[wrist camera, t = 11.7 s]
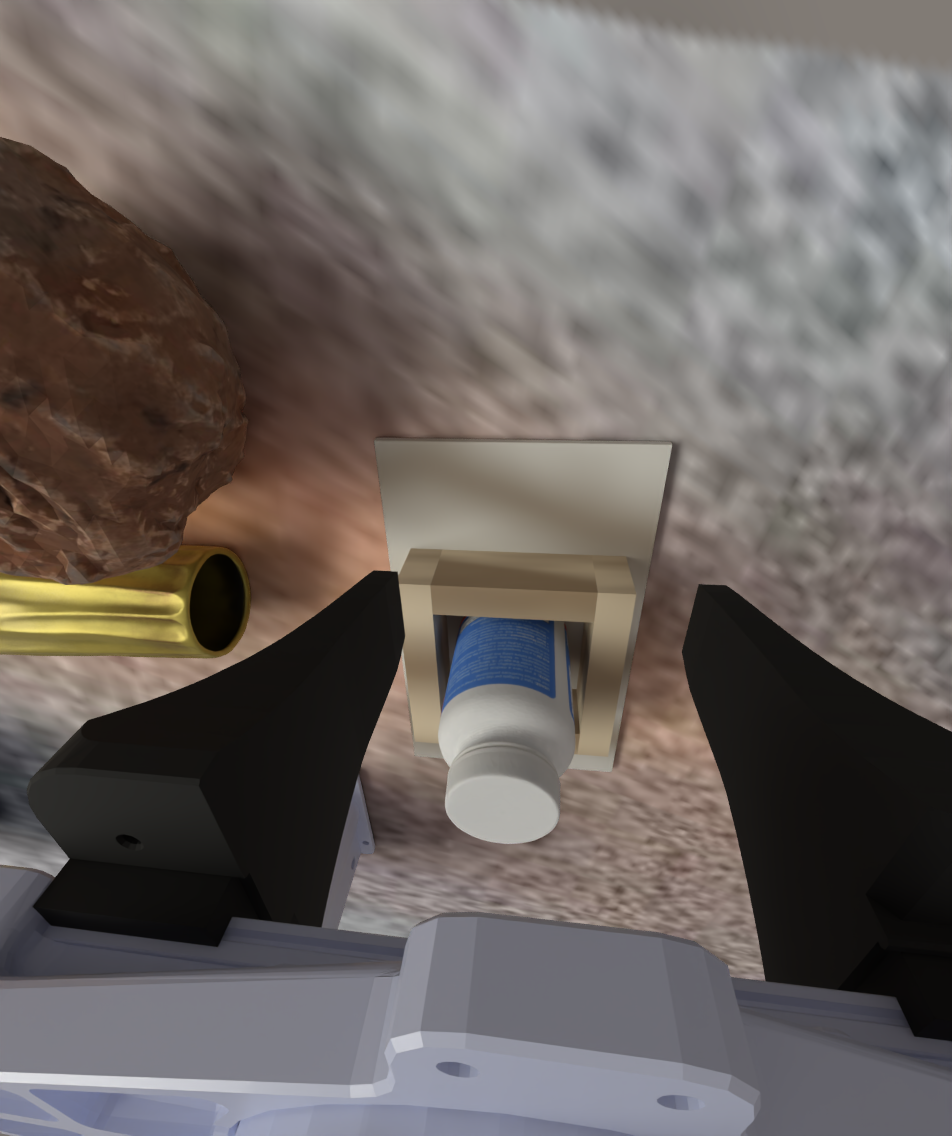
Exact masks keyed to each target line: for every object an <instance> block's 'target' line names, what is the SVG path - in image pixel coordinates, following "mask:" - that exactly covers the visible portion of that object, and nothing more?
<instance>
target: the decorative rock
mask: <svg viewBox="0 0 952 1136" xmlns="http://www.w3.org/2000/svg"><path fill="white" fill-rule="evenodd" d="M245 402H246V394H245V390H244V388H243V385H242V381H241V374H240V369H239V366H238V364H237V362H236V359H235V357H234V355H233V352H232V350H231V346H230V341H229V337H228V333H227V328H226V326H225V324H224V323H223V322H222V320H221V319H220V317H219V316H218V315H217V313H216V312H215V311H214V310H213V309H212V308H211V307H210V306H209V305H208V304H207V303H206V302H205V301H204V300H203V298H202V297H201V296H200V294H199V292H198V290H197V288H196V286H195V284H194V282H193V281H192V279H191V278H190V276H189V275H188V274H187V273H186V271H185V270H184V269H183V268H182V266H181V265H180V263H179V262H178V261H177V259H176V257H175V255H174V253H173V251H172V250H171V249H170V248H168V247H166V246H164V245H162V244H161V243H159V242H157V241H155V240H153V239H151V238H149V237H148V236H147V235H145V234H144V233H143V232H142V231H141V230H140V229H139V228H138V227H137V226H136V225H135V224H134V223H132V222H131V221H129V220H128V219H127V218H125V217H124V216H123V215H121V214H120V213H119V212H117V211H116V210H115V209H113V208H112V207H111V206H109V205H108V204H106V203H104V202H103V201H101V200H100V199H98V198H97V197H95V196H93V195H92V194H90V193H89V192H88V191H87V190H86V189H85V188H84V187H83V186H82V185H81V184H80V183H79V182H78V181H77V180H76V179H75V178H74V176H73V175H72V174H71V173H70V172H69V170H68V169H67V168H66V167H64V166H62V165H60V164H58V163H56V162H55V161H53V160H52V159H50V158H49V157H47V156H46V155H44V154H43V153H41V152H39V151H38V150H36V149H35V148H33V147H32V146H29V145H26V144H23V143H19V142H16V141H12V140H9V139H6V138H2V137H0V572H1V573H5V574H9V575H13V576H24V577H35V578H44V579H51V580H54V581H57V582H59V583H62V584H64V585H73V584H81V585H83V584H88V583H94V582H97V581H99V580H102V579H106V578H111V577H116V576H121V575H125V574H128V573H131V572H134V571H138V570H143V569H148V568H151V567H154V566H157V565H160V564H162V563H164V562H165V561H166V560H168V559H169V558H170V557H172V556H173V555H174V554H176V553H177V552H178V550H179V547H180V545H181V543H182V541H183V530H184V527H185V525H186V521H187V516H188V515H189V514H191V513H192V512H194V511H195V510H196V508H197V506H198V505H199V504H201V503H202V502H203V501H205V500H206V499H207V498H208V497H209V496H210V494H211V493H213V492H214V491H215V490H217V489H218V488H220V487H222V486H224V485H226V484H228V483H230V482H231V481H232V475H233V473H234V470H235V466H236V465H237V464H238V463H239V462H240V461H241V460H242V458H243V457H244V444H245V441H246V428H247V425H248V419H247V418H246V416H245V415H244V414H243V412H242V409H243V408H244V406H245Z"/></svg>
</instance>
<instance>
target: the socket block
mask: <svg viewBox="0 0 952 1136" xmlns="http://www.w3.org/2000/svg"><path fill="white" fill-rule="evenodd" d="M374 445H375V453H376V461H377V468H378V476H379V484H380V491H381V499H382V507H383V515H384V522H385V530H386V538H387V545H388V553H389V561H390V569H391V571H396V572H398V579H399V588H400V596H401V604H402V612H403V620H404V629H405V640H404V644H403V649H402V653H401V654H402V661H403V669H404V677H405V684H406V692H407V700H408V708H409V715H410V723H411V731H412V738H413V746H414V754H415V756H420V757H432V758H443V755H442V753H441V750H440V746H439V741H438V730H439V724H440V717H441V711H442V707H443V702H444V697H445V693H446V689H447V684H448V679H449V675H450V670H451V665H452V660H453V656H454V651H455V646H456V640H457V635H458V631H459V627H460V623H461V620H462V618H463V616H473V617H493V618H512V619H532V620H551V621H564V622H565V625H566V629H567V634H568V643H569V656H570V670H571V682H572V697H573V711H574V723H575V752H574V756H573V759H572V761H571V763H570V765H569V767H568V768H567V769H579V770H591V771H603V772H612V767H613V762H614V757H615V751H616V746H617V740H618V735H619V730H620V724H621V719H622V713H623V708H624V703H625V697H626V692H627V687H628V681H629V676H630V670H631V665H632V660H633V654H634V649H635V643H636V638H637V633H638V627H639V622H640V616H641V611H642V606H643V600H644V595H645V590H646V584H647V579H648V573H649V568H650V563H651V557H652V552H653V546H654V541H655V536H656V530H657V525H658V519H659V514H660V509H661V503H662V498H663V492H664V487H665V482H666V476H667V471H668V466H669V460H670V455H671V449H672V444H671V442H663V441H588V440H514V439H440V438H376V439H375V440H374Z"/></svg>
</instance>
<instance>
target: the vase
mask: <svg viewBox="0 0 952 1136" xmlns="http://www.w3.org/2000/svg"><path fill="white" fill-rule="evenodd" d="M250 604H251V592H250V585H249V580H248V576H247V573H246V570H245V568H244V565H243V563H242V562H241V560H240V559H239V557H238V556H237V555H236V554H235V553H234V552H233V551H231V550H229V549H227V548H224V547H215V546H199V545H180V547H179V550H178V552H177V553H176V554H174V555H173V556H172V557H170V558H169V559H168V560H166V561H165V562H164V563H162V564H160V565H157V566H154V567H151V568H148V569H143V570H138V571H134V572H131V573H128V574H125V575H121V576H116V577H111V578H106V579H102V580H99V581H97V582H94V583H88V584H83V585H81V584H73V585H64V584H62V583H59V582H57V581H54V580H51V579H44V578H35V577H24V576H13V575H9V574H5V573H1V572H0V654H7V655H33V656H109V655H111V656H130V657H166V658H217V657H220V656H223V655H226V654H228V653H229V652H231V651H232V650H233V648H234V647H235V646H236V645H237V643H238V642H239V640H240V639H241V637H242V636H243V634H244V632H245V629H246V626H247V623H248V619H249V614H250Z"/></svg>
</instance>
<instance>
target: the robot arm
mask: <svg viewBox="0 0 952 1136" xmlns="http://www.w3.org/2000/svg"><path fill="white" fill-rule="evenodd" d="M404 640H405V629H404V620H403V612H402V604H401V596H400V588H399V579H398V572H396V571H373V572H371V573H370V574H368V575H367V576H366V577H364V578H363V579H362V580H361V581H359V582H358V583H357V584H356V585H354V586H353V587H352V588H351V589H349V590H348V591H347V592H345V593H344V594H343V595H342V596H340V597H339V598H338V599H337V600H335V601H334V602H333V603H331V604H330V605H329V606H327V607H326V608H325V609H324V610H322V611H321V612H320V613H318V614H317V615H315V616H314V617H312V618H311V619H310V620H308V621H307V622H305V623H304V624H302V625H301V626H299V627H298V628H297V629H295V630H294V631H292V632H291V633H289V634H288V635H286V636H285V637H283V638H282V639H280V640H278V641H277V642H275V643H273V644H272V645H270V646H268V647H266V648H265V649H263V650H261V651H259V652H258V653H256V654H254V655H252V656H250V657H249V658H247V659H245V660H243V661H241V662H239V663H237V664H234V665H232V666H230V667H228V668H226V669H224V670H222V671H220V672H218V673H216V674H214V675H212V676H210V677H208V678H205V679H203V680H201V681H198V682H196V683H194V684H191V685H189V686H186V687H184V688H182V689H179V690H176V691H174V692H171V693H169V694H166V695H163V696H161V697H158V698H155V699H153V700H150V701H147V702H144V703H141V704H138V705H135V706H132V707H129V708H126V709H122V710H119V711H116V712H113V713H110V714H107V715H104V716H101V717H97V718H94V719H91V720H88V721H87V722H86V723H85V724H84V725H83V726H82V727H81V728H80V729H79V730H78V731H77V732H76V733H75V734H74V735H73V736H72V737H71V738H70V739H69V740H68V741H67V742H66V743H65V744H64V745H63V746H62V747H61V748H60V749H59V750H58V751H57V752H56V753H55V754H54V756H53V757H52V758H51V759H50V760H49V761H48V762H47V763H46V764H45V765H44V766H43V767H42V768H41V769H40V770H39V771H38V772H37V773H36V774H35V775H34V776H33V777H32V778H31V779H30V782H29V785H28V787H27V795H28V800H29V805H30V807H31V809H32V810H33V812H34V814H35V815H36V817H37V818H38V820H39V821H40V822H41V823H42V825H43V826H44V827H45V828H46V830H47V831H48V832H49V833H50V835H51V836H52V837H53V838H54V840H55V841H56V842H57V843H58V845H59V846H60V847H61V848H62V850H63V851H64V852H65V853H66V855H67V856H68V857H69V858H70V859H69V861H68V862H67V863H66V864H65V866H64V867H63V868H62V870H61V871H60V872H59V873H58V875H57V876H56V877H53V876H52V875H50V874H48V873H46V872H44V871H41V870H37V869H33V868H24V867H16V866H7V865H0V1133H3V1134H7V1135H12V1136H952V732H951V731H949V730H947V729H945V728H943V727H941V726H939V725H937V724H935V723H933V722H931V721H929V720H927V719H925V718H923V717H921V716H919V715H917V714H915V713H913V712H911V711H909V710H908V709H906V708H904V707H902V706H900V705H898V704H897V703H895V702H893V701H891V700H889V699H888V698H886V697H884V696H882V695H881V694H879V693H877V692H876V691H874V690H872V689H871V688H869V687H867V686H866V685H864V684H862V683H860V682H859V681H857V680H855V679H854V678H852V677H851V676H849V675H847V674H846V673H844V672H843V671H841V670H840V669H838V668H837V667H835V666H834V665H832V664H831V663H829V662H828V661H826V660H825V659H824V658H822V657H821V656H819V655H818V654H816V653H815V652H813V651H812V650H811V649H809V648H808V647H806V646H805V645H804V644H802V643H801V642H800V641H798V640H797V639H795V638H794V637H793V636H791V635H790V634H789V633H788V632H786V631H785V630H784V629H782V628H781V627H780V626H778V625H777V624H776V623H775V622H773V621H772V620H771V619H769V618H768V617H767V616H766V615H764V614H763V613H762V612H761V611H759V610H758V609H757V608H756V607H754V606H753V605H752V604H750V603H749V602H748V601H747V600H745V599H744V598H743V597H742V596H740V595H739V594H738V593H736V592H735V591H734V590H732V589H731V588H729V587H728V586H726V585H703V584H699V586H698V590H697V594H696V598H695V602H694V606H693V610H692V614H691V618H690V622H689V626H688V630H687V634H686V637H685V641H684V645H683V649H682V655H683V660H684V665H685V670H686V675H687V679H688V684H689V688H690V692H691V694H692V697H693V700H694V703H695V706H696V709H697V711H698V714H699V717H700V720H701V722H702V725H703V728H704V731H705V733H706V736H707V739H708V741H709V744H710V747H711V750H712V752H713V755H714V758H715V760H716V763H717V766H718V769H719V771H720V774H721V777H722V781H723V784H724V787H725V790H726V793H727V797H728V801H729V805H730V809H731V813H732V817H733V821H734V825H735V830H736V834H737V838H738V842H739V847H740V851H741V856H742V860H743V865H744V869H745V874H746V878H747V883H748V888H749V893H750V898H751V903H752V908H753V913H754V918H755V923H756V928H757V933H758V939H759V945H760V950H761V956H762V962H763V968H764V974H765V980H766V981H758V980H750V979H742V978H734V977H730V973H729V969H728V965H726V964H725V963H724V962H723V961H721V960H720V959H719V958H718V957H716V956H715V955H713V954H712V953H711V952H709V951H708V950H706V949H705V948H703V947H702V946H701V945H699V944H698V943H696V942H695V941H691V940H687V939H683V938H679V937H675V936H671V935H667V934H663V933H659V932H651V931H642V930H633V929H624V928H615V927H607V926H598V925H589V924H580V923H571V922H563V921H554V920H545V919H536V918H528V917H519V916H510V915H501V914H492V913H484V912H450V913H442V914H439V915H437V916H434V917H432V918H429V919H427V920H424V921H422V922H420V923H419V924H417V925H416V926H414V927H413V928H412V930H411V932H410V935H409V937H408V938H404V937H395V936H387V935H379V934H371V933H362V932H354V931H346V930H338V926H339V923H340V919H341V916H342V913H343V910H344V906H345V903H346V900H347V896H348V893H349V890H350V887H351V883H352V880H353V877H354V873H355V870H356V867H357V864H358V860H359V857H360V854H361V853H364V854H372V853H373V852H374V850H375V843H374V839H373V834H372V830H371V825H370V821H369V816H368V812H367V807H366V803H365V798H364V794H363V790H362V785H361V781H360V776H359V771H360V767H361V764H362V761H363V758H364V755H365V752H366V749H367V746H368V744H369V741H370V738H371V736H372V733H373V731H374V728H375V726H376V723H377V721H378V718H379V716H380V713H381V711H382V708H383V706H384V703H385V701H386V698H387V696H388V693H389V690H390V688H391V685H392V683H393V680H394V677H395V675H396V672H397V669H398V665H399V661H400V657H401V653H402V649H403V644H404Z"/></svg>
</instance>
